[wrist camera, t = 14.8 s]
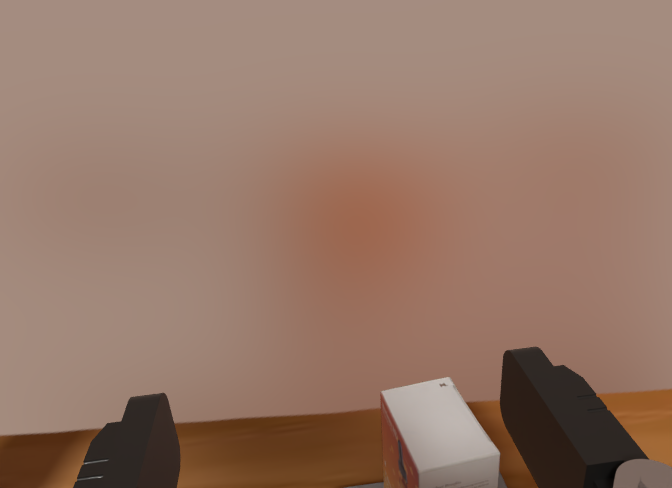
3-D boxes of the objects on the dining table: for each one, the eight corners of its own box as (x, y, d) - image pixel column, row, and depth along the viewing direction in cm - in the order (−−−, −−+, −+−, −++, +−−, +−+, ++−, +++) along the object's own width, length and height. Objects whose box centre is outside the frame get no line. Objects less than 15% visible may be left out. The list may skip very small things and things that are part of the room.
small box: (383, 491, 45) (377, 388, 40) (447, 475, 46) (449, 373, 41) (418, 584, 38) (416, 472, 33) (493, 563, 39) (501, 451, 34)
